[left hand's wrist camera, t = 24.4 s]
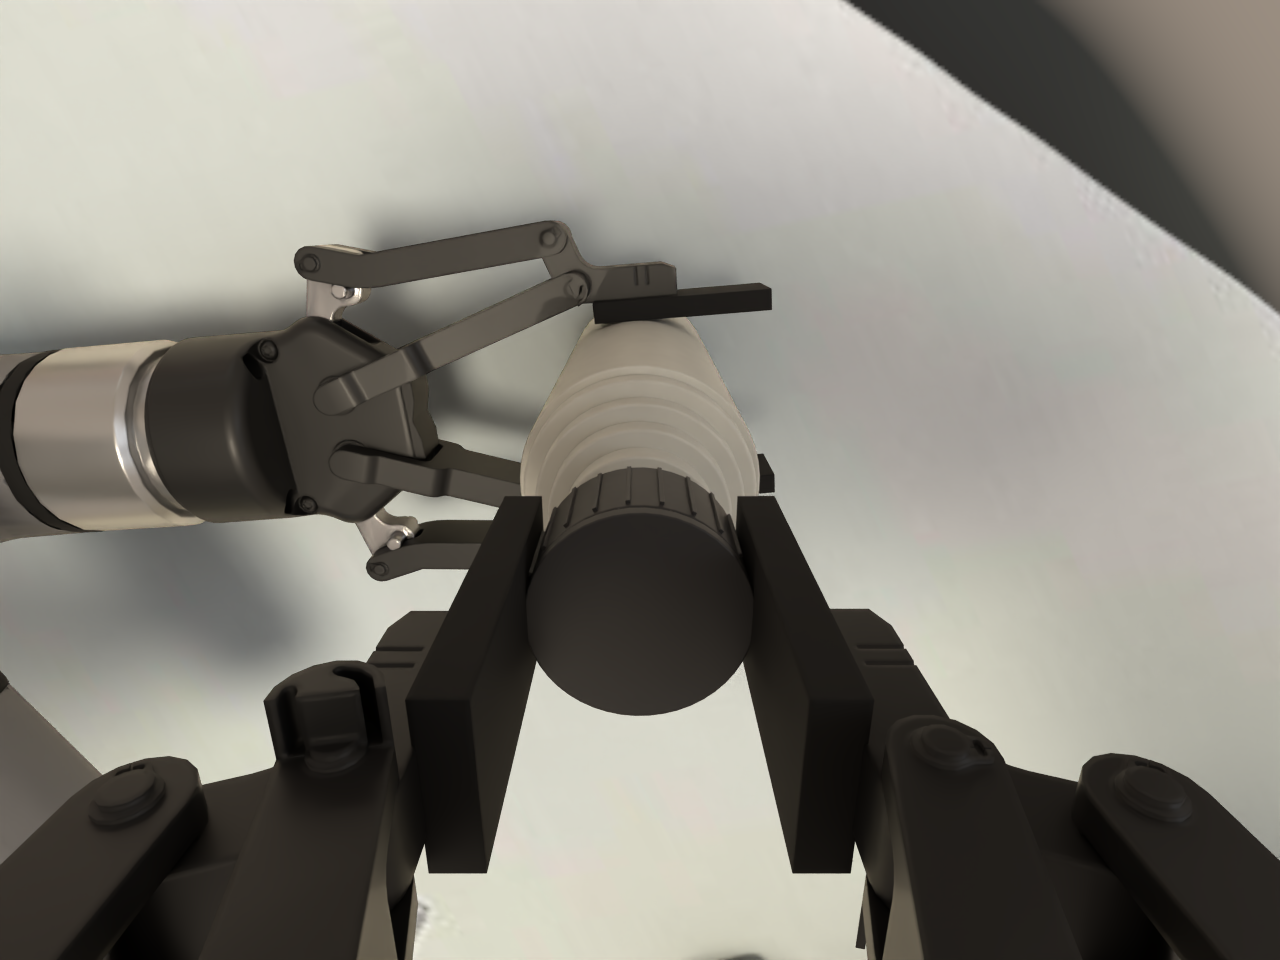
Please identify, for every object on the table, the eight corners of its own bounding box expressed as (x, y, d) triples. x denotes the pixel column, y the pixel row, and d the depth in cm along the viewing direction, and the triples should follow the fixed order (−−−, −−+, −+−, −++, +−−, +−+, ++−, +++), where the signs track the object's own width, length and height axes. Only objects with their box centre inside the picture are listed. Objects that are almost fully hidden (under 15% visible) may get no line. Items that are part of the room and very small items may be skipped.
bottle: (708, 424, 36) (812, 731, 14) (581, 433, 36) (493, 751, 14) (702, 293, 33) (815, 421, 12) (567, 304, 33) (438, 448, 12)
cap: (731, 648, 15) (747, 722, 13) (539, 641, 15) (521, 714, 13) (750, 468, 14) (771, 516, 12) (537, 459, 14) (517, 506, 12)
